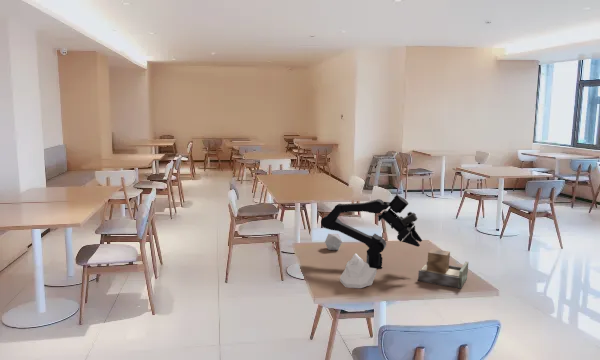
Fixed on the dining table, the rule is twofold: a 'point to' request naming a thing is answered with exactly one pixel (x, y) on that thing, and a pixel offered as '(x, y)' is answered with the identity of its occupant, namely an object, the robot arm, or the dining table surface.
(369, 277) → the white faceted rock
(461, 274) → the trap box
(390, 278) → the dining table surface
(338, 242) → the die
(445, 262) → the walnut block
